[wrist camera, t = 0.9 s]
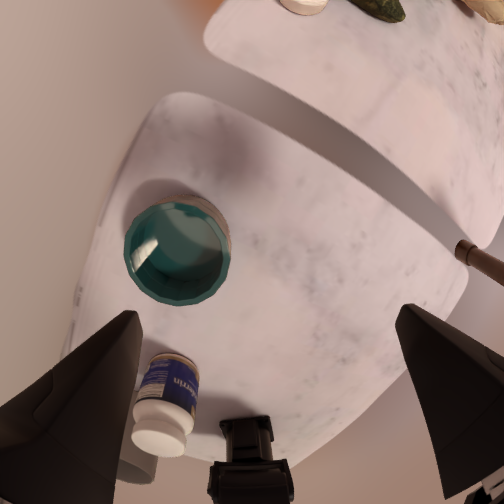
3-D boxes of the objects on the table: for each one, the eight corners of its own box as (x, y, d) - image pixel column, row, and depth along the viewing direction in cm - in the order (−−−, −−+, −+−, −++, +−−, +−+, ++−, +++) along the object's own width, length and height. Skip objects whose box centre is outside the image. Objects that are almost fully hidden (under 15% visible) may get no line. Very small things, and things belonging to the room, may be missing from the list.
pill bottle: (209, 381, 27) (204, 457, 18) (166, 392, 28) (152, 461, 19) (182, 344, 26) (165, 424, 16) (138, 358, 26) (111, 430, 17)
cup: (177, 412, 29) (166, 478, 20) (149, 432, 31) (137, 488, 22) (118, 378, 27) (93, 443, 18) (98, 404, 29) (76, 458, 19)
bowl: (237, 275, 23) (238, 298, 20) (153, 287, 23) (141, 310, 20) (222, 186, 21) (218, 192, 17) (131, 204, 21) (112, 214, 17)
